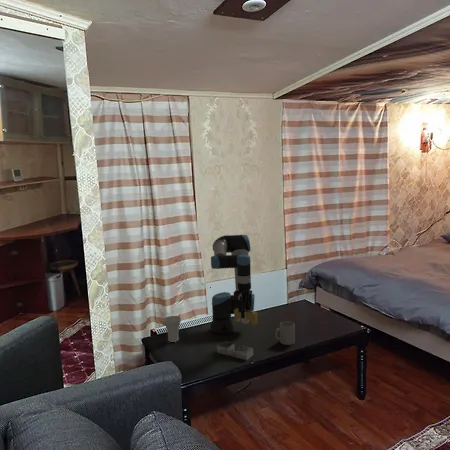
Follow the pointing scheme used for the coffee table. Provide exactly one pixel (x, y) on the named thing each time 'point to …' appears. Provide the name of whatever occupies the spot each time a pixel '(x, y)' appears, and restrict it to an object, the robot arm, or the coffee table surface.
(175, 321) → the cup
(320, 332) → the coffee table surface
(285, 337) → the mug
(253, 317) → the yellow rectangular block
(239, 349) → the bracket
